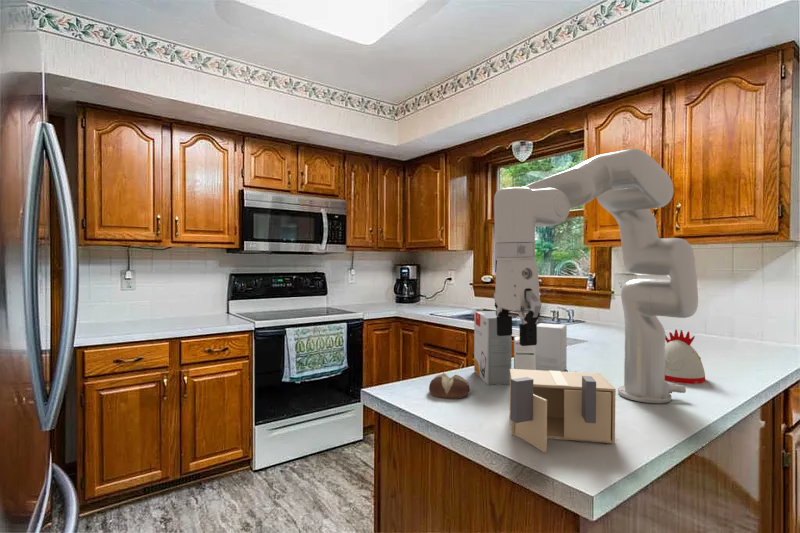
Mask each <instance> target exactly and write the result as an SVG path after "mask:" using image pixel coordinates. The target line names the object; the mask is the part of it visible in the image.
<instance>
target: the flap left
mask: <svg viewBox="0 0 800 533" xmlns="http://www.w3.org/2000/svg"><path fill="white" fill-rule="evenodd" d="M510 420H512V421H513V422H515V435H514V436H516V435H517V437H518V438H520V439H522V440H524V441H525V442H527V443H528V444H530V445H532V446H534V447H535V448H537V449H538V450H540V451H542V452H544V453H547V451H548V450H547V448H548V447H547V445H548V442H547V440H548V438H547V400H546V399H544V398H541V397H539V396H537V395H534V394H533V379H531V378H529V377H524V378H516V379H511V415H510V414H509V421H510Z"/></svg>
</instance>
